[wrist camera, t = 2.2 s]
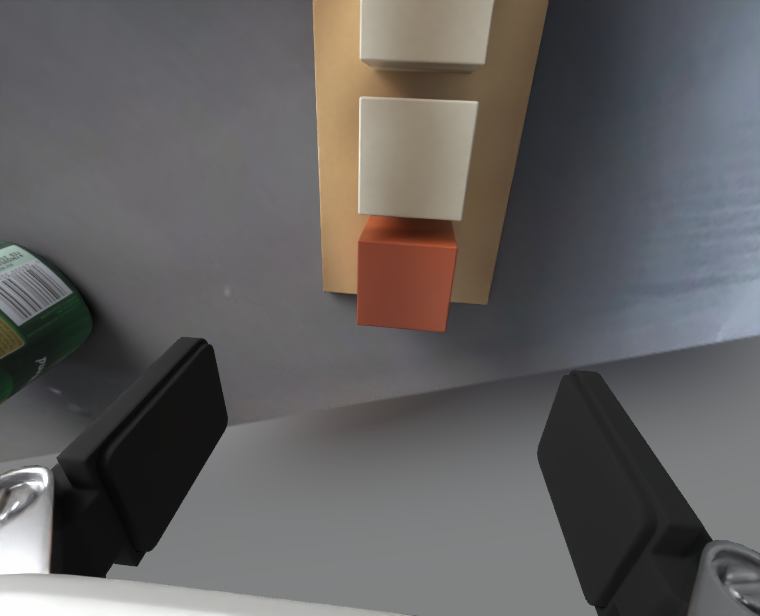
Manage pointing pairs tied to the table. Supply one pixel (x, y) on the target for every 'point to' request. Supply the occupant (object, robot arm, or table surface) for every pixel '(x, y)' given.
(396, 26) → the word board
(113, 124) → the table surface
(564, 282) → the table surface
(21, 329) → the coffee jar
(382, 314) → the orange wooden cube
